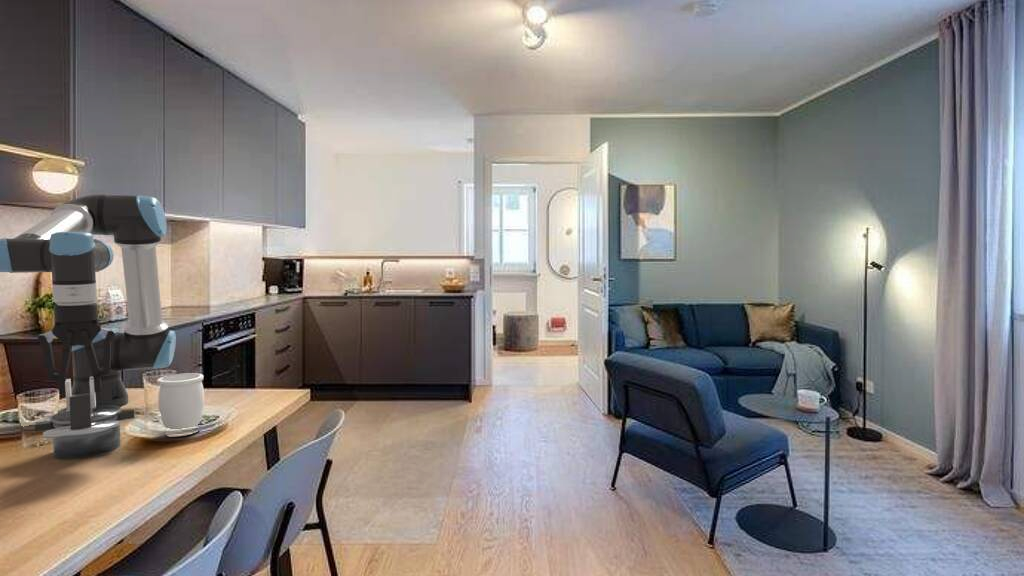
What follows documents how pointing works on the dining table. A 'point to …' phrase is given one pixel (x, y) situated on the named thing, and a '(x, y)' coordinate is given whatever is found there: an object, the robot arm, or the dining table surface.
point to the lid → (81, 420)
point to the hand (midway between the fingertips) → (81, 407)
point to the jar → (181, 400)
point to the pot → (88, 442)
